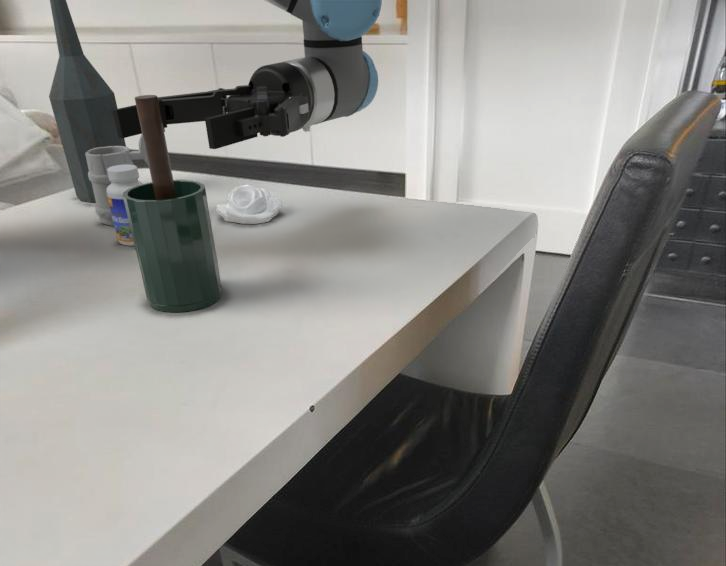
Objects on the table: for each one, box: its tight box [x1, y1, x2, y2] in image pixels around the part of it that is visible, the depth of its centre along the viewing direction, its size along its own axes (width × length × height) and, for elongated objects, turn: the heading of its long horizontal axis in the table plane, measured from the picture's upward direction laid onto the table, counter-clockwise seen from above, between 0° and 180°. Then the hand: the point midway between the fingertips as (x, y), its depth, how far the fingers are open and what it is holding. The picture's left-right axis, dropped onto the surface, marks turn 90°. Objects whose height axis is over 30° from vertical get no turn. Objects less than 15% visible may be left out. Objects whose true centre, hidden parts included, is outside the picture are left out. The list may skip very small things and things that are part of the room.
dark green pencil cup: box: [123, 179, 223, 313], centre depth 77 cm, size 9×9×12 cm
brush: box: [134, 94, 177, 200], centre depth 74 cm, size 4×4×20 cm
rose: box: [215, 184, 283, 225], centre depth 104 cm, size 10×4×10 cm
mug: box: [85, 134, 149, 226], centre depth 103 cm, size 8×12×12 cm, turn 95°
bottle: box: [48, 0, 127, 204], centre depth 110 cm, size 10×10×30 cm
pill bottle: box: [106, 164, 144, 247], centre depth 95 cm, size 5×5×10 cm
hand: (161, 128), depth 70 cm, fingers open, 13 cm apart
